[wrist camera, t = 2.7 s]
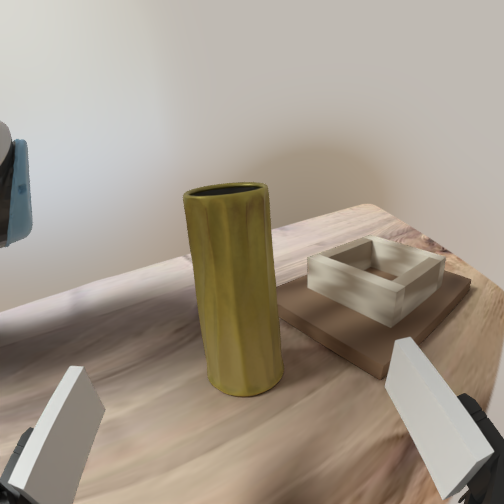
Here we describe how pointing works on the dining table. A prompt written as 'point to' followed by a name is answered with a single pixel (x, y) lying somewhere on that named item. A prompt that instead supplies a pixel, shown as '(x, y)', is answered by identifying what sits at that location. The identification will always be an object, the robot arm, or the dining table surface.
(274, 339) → the vase
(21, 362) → the dining table surface
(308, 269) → the stand
